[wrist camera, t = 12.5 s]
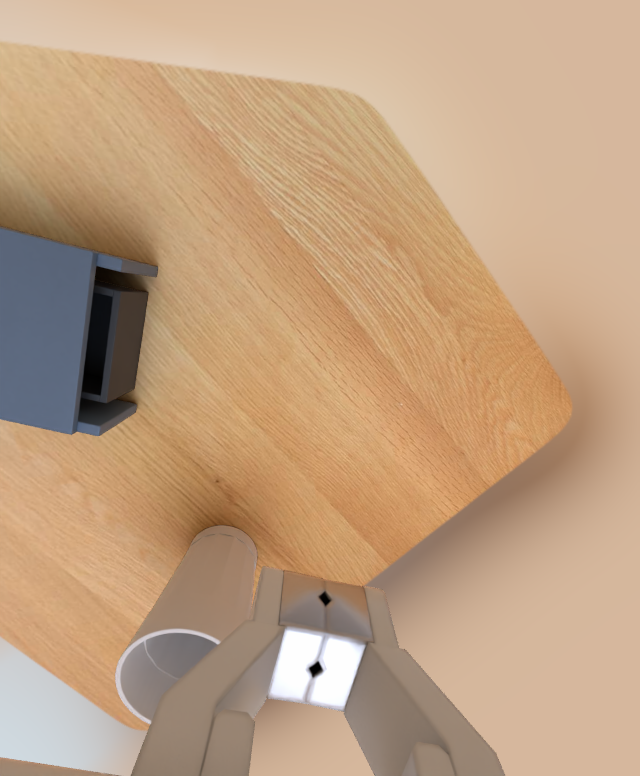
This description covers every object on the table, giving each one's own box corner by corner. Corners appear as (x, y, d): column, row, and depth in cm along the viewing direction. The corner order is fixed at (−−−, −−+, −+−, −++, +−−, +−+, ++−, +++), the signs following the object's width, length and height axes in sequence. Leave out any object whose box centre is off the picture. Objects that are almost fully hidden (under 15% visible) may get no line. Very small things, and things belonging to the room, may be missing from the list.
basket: (148, 292, 30) (121, 291, 25) (134, 389, 32) (106, 403, 27) (16, 259, 29) (-35, 252, 25) (9, 360, 31) (-41, 370, 26)
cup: (259, 512, 34) (233, 621, 23) (272, 587, 36) (254, 723, 24) (171, 522, 34) (100, 637, 23) (188, 597, 36) (131, 738, 24)
